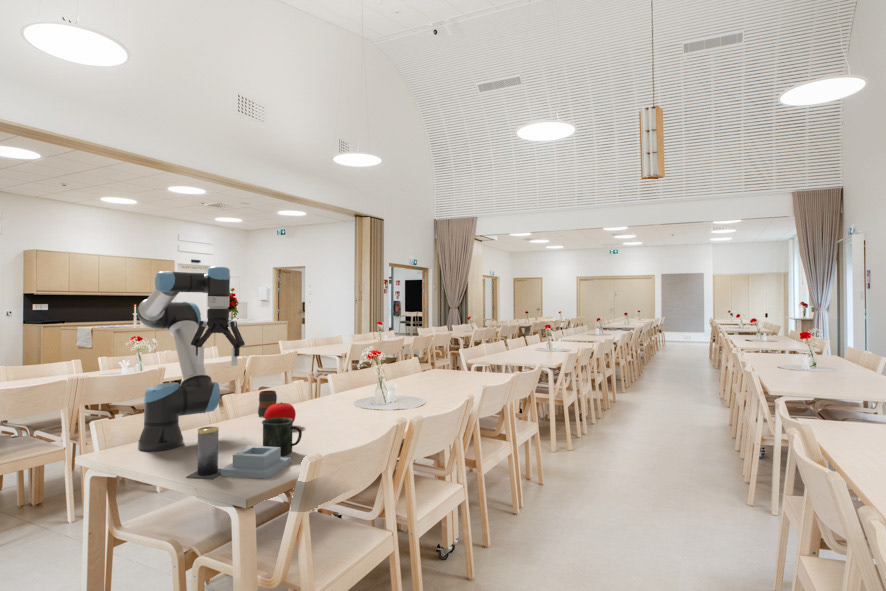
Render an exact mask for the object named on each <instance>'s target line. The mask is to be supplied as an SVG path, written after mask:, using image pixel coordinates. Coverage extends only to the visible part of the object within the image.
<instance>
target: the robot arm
mask: <svg viewBox="0 0 886 591" xmlns="http://www.w3.org/2000/svg"><path fill="white" fill-rule="evenodd" d="M207 269H208V270H207V273H206V272H187V271H185V272H184V271H171V270H167V271H163V270H162V271H158V272H156V275H155V278H154V279H155V280H154V286H155V288H154V290H152V292H151V293H150V294H149V296H148V297H147V298H146V299H144V300H142V301H141V302H140V303H139V305H138V306H137V310H136V314H137V318H138V319H139V321H140V322H141V323H142V324H143V325H145V326H146V327H149V328H150V329H151V328H152V329H158V330H163V329H165V330H168V334H169V335H170V336H171V337H173V339H174V342H175V348H176V353H177V357H178V361H179V367H180V370H181V375H182V381H181V383H179V382H173V381H172V382H165V383H160V384H155V385H152V386H149V387H147V388H146V390H145V392H144V399H143V404H144V406H143V408H144V409H143V412H144V413H143V421H144V422H143V429H142V432H141V434H140V436H139V440H138V442H137V443H138V445H137V446H138V447H137V448H138V450H139V451H145V452H146V451H147V452H149V451H150V452H154V451H155V452H156V451H165V450H171V449H174V448H178V447H181V446H182V445H183V444H184V436H183V433H182V430H181V426H180V424H179V423H180V422H179V418H180V417H182V416H190V415H195V414H196V415H197V414H205V413H210V412H213V411H215V410H216V409H217V408H218V405H219V403H220V399H221V398H220V395H221V390H220V385H219V383H218V382H217V381H216V382H215V381H213V380H212V377H211V376H210V375H208V374H207V373H206V369H205V366H204V364H205V347H204V346H203V345H204V344H205V343H206V342H207V340H208V339H209V338H210V337H211V335H213V334H223V335H224V336H225V337H226V339H227V340H228V341H229V342H230V343H229V344H231V346H232V348H231V363H230V364H231V366H232V367H234V366H237V365H238V357H240V348H241V347H244V346H245V345H246V344H245V341H244V339H243V337H242V334H241V332H240V330H239V328H238V322H237V321H236V320H231V321H229V319H230V309H229V307H230V287H231V286H230V285H231V284H230V282H231V281H230V279H231V274H230V272H231V271H230V268H228V267H226V266H209V267H208V268H207ZM180 293H203V294H207V308H208V309H207V310H206V311H207V313H206V314H207V316H206V317H207V321H206V320H202V314H201V311H200V308H199V306H198V305H197V304H196V303H195V302H188V301H182V302H181V301H180V302H176V301H174V299H175V298H176V297H177V295H178V294H180ZM173 301H174V302H173ZM206 327H208V328H207V329H206ZM229 328H230V329H229ZM205 329H206V330H205ZM231 331H232V332H231Z"/></svg>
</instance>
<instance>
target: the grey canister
mask: <svg viewBox="0 0 886 591" xmlns="http://www.w3.org/2000/svg"><path fill="white" fill-rule="evenodd" d="M196 465H197V467H196V468H197V469H196V471H197V474H198V475H200V476H208V475H213V474H216V473H217V472H218V468H219V427H218V426H205V427H200V428H198V429H197V464H196Z"/></svg>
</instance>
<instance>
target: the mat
mask: <svg viewBox="0 0 886 591" xmlns="http://www.w3.org/2000/svg"><path fill="white" fill-rule="evenodd" d="M221 469H222V468H219V467H218V472H217V473H216V474H213V475H208V476H200V475H198V474H197V470H196V471H194V472H192V473H190V474H189V475H186V476H185V477H186V478H187V479H200V480H201V479H202V480H214V479H216V478H218V477H219V476H221Z"/></svg>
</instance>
